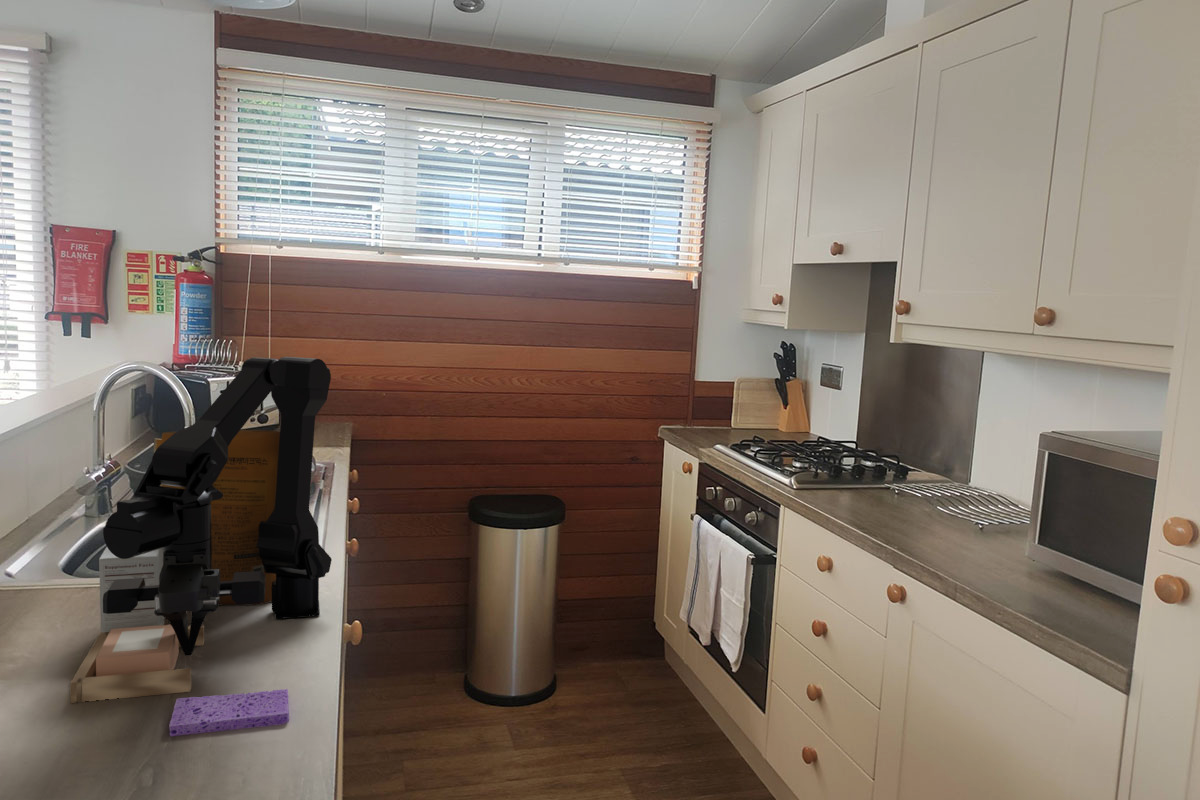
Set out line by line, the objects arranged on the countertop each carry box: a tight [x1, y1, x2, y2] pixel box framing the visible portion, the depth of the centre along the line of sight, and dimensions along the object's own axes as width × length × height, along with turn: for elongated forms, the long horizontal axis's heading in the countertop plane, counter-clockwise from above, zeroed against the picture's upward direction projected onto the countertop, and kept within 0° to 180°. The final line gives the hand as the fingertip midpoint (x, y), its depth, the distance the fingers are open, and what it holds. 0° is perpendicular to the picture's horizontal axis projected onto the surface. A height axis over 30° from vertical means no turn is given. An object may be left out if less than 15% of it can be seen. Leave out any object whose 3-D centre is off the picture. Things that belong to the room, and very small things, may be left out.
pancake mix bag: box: [153, 429, 280, 606], centre depth 137 cm, size 7×19×28 cm, turn 97°
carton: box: [96, 624, 179, 677], centre depth 111 cm, size 8×10×5 cm
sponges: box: [168, 688, 290, 737], centre depth 101 cm, size 7×13×2 cm, turn 109°
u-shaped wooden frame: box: [70, 624, 205, 704], centre depth 112 cm, size 13×16×2 cm
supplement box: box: [98, 546, 165, 633], centre depth 122 cm, size 7×7×13 cm
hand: (188, 654), depth 114 cm, fingers closed
